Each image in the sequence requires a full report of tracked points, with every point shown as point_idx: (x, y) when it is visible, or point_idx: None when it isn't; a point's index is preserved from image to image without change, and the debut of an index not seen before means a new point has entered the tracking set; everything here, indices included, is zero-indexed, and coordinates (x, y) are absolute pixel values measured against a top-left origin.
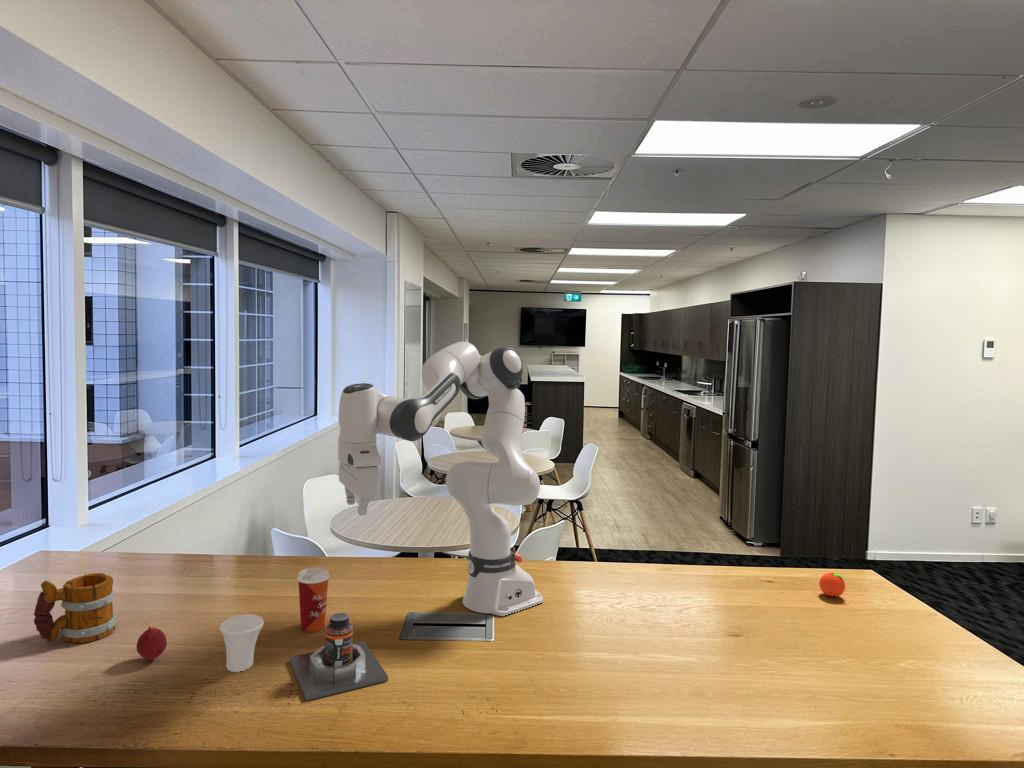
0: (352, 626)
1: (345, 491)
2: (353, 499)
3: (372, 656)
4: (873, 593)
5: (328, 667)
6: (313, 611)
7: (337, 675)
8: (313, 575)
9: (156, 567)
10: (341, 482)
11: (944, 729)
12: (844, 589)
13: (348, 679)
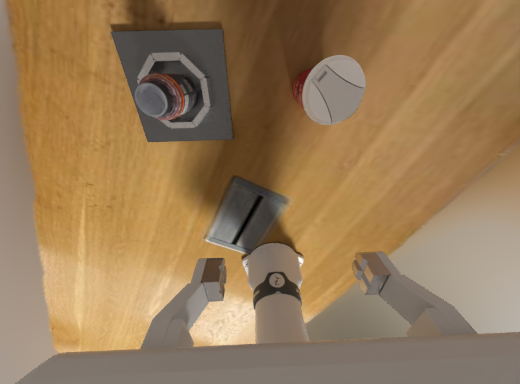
0: (161, 119)
1: (430, 295)
2: (362, 282)
3: (194, 138)
4: None
5: (144, 72)
6: (297, 86)
7: None
8: (320, 89)
9: None
10: (517, 341)
11: (74, 347)
12: None
13: None
